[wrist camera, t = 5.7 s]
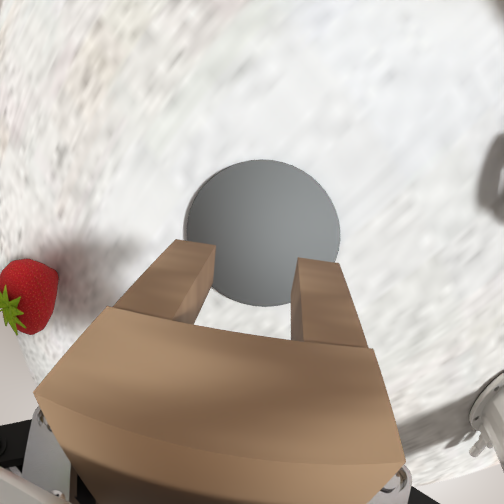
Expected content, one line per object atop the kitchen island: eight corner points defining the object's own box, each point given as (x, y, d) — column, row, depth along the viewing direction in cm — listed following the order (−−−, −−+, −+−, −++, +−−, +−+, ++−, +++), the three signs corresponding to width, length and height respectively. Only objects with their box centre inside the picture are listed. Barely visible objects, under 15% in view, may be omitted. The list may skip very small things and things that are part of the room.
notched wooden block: (340, 260, 11) (406, 461, 4) (299, 404, 14) (296, 560, 6) (174, 236, 11) (32, 391, 4) (175, 384, 14) (118, 528, 7)
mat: (323, 312, 27) (323, 315, 26) (186, 292, 27) (185, 294, 27) (351, 172, 22) (353, 173, 22) (193, 152, 23) (191, 152, 23)
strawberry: (41, 299, 30) (-13, 346, 21) (32, 237, 28) (-34, 275, 18) (80, 311, 30) (26, 367, 21) (72, 245, 27) (4, 291, 18)
